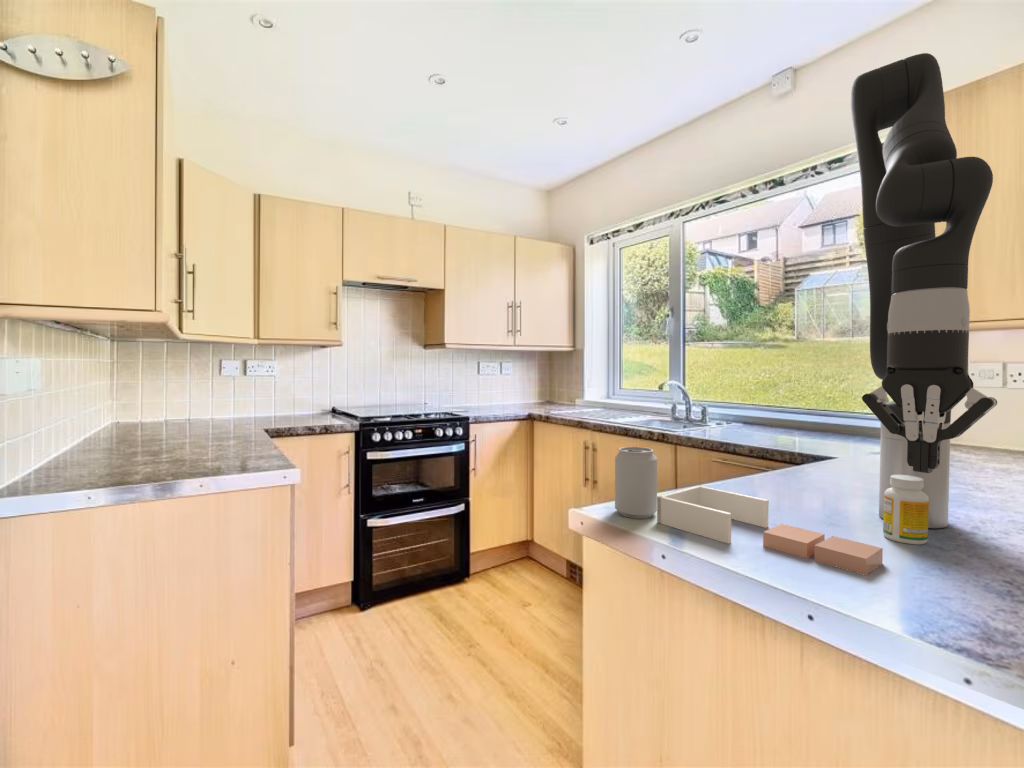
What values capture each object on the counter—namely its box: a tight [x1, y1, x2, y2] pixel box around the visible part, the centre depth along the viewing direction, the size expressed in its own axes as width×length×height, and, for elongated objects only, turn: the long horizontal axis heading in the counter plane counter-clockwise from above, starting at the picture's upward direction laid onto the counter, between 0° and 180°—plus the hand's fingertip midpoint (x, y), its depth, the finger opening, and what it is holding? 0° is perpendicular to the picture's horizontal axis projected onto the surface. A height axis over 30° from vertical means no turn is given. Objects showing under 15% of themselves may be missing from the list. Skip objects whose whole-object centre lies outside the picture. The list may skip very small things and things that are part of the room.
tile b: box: [813, 535, 884, 576], centre depth 66 cm, size 6×6×2 cm
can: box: [614, 446, 658, 519], centre depth 89 cm, size 8×8×12 cm
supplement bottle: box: [882, 475, 929, 545], centre depth 75 cm, size 5×5×10 cm
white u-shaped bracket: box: [656, 484, 770, 545], centre depth 82 cm, size 13×13×4 cm
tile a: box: [762, 523, 826, 559], centre depth 72 cm, size 6×6×2 cm
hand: (922, 471), depth 60 cm, fingers closed
